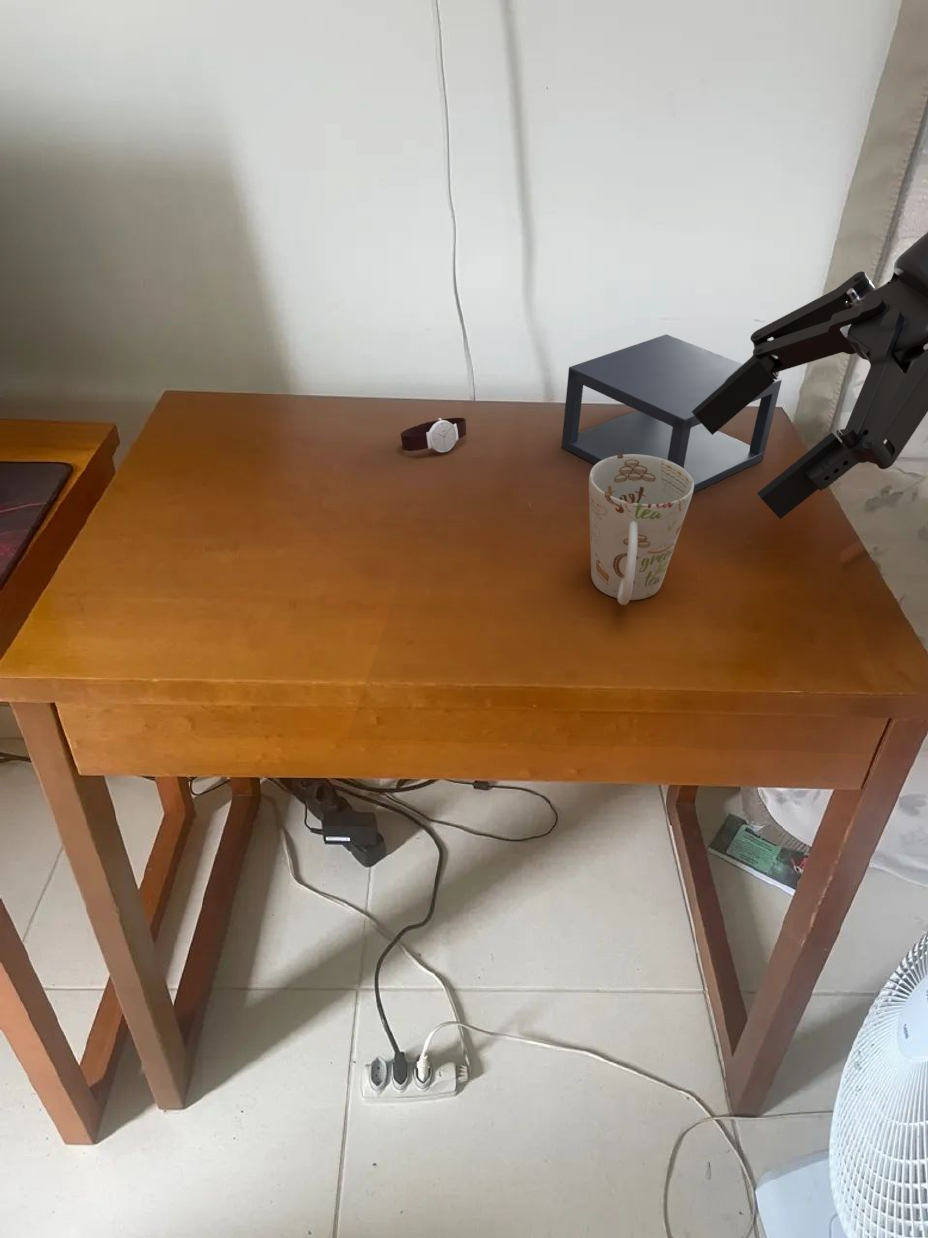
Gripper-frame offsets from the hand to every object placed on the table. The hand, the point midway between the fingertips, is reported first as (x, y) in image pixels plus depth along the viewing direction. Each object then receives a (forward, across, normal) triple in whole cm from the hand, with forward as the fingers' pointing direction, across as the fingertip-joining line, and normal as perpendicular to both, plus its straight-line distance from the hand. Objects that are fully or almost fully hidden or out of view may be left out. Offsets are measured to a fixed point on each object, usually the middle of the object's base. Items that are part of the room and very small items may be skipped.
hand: (732, 462), depth 77 cm
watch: (+22, +28, +5) cm, 37 cm away
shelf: (+6, +24, -11) cm, 27 cm away
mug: (+14, 0, -3) cm, 14 cm away
